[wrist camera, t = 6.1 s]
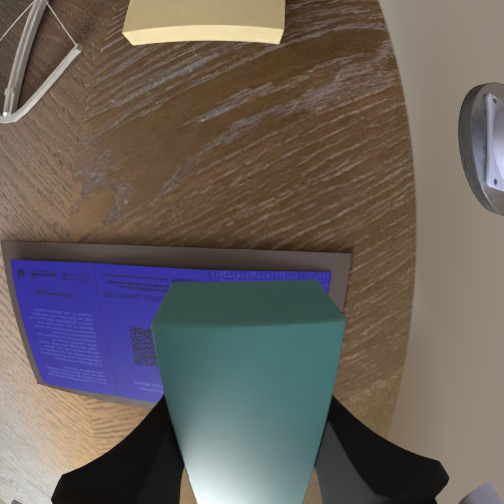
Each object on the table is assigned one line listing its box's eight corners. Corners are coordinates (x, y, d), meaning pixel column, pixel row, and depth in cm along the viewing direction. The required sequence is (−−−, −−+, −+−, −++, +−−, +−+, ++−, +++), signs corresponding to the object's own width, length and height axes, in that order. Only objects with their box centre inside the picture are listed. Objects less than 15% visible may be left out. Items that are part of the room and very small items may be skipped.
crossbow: (72, 118, 17) (58, 116, 15) (-23, 128, 16) (-37, 129, 14) (125, -48, 12) (117, -60, 10) (20, -17, 11) (9, -23, 9)
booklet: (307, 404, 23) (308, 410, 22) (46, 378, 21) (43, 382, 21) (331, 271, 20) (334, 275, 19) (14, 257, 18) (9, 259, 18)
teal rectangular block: (317, 278, 10) (347, 318, 7) (293, 462, 13) (302, 505, 10) (170, 281, 10) (147, 323, 7) (201, 466, 13) (198, 509, 10)
